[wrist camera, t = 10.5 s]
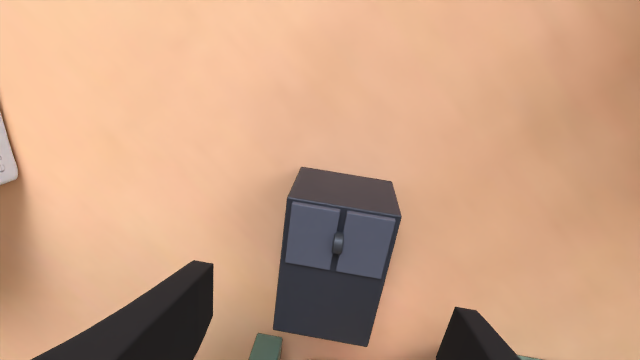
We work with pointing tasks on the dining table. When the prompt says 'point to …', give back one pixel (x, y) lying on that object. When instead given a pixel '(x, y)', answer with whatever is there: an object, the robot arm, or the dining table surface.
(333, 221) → the dark grey paneled box
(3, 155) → the product carton
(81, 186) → the dining table surface
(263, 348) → the drawer
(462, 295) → the dining table surface
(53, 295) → the dining table surface
